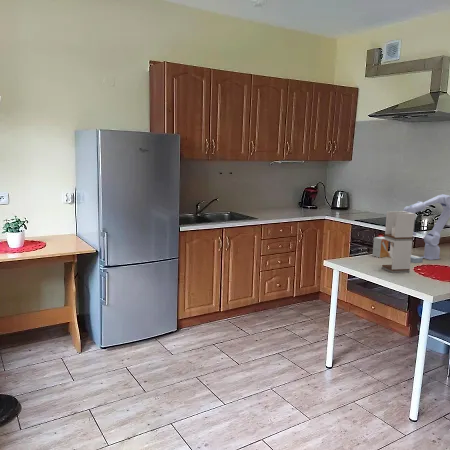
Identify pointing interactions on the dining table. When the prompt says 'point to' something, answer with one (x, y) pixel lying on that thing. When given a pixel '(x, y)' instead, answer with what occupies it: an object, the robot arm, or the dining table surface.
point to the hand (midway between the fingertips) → (405, 244)
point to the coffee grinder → (399, 240)
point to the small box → (380, 247)
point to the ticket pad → (416, 259)
